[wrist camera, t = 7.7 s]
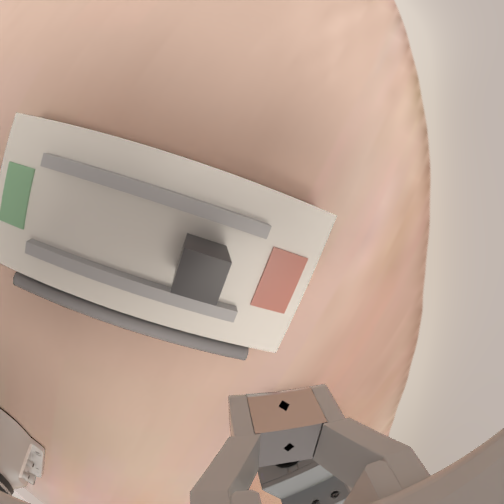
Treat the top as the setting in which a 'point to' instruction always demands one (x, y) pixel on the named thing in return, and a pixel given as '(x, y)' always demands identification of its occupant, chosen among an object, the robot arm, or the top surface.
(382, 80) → the top surface
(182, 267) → the breaker toggle
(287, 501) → the circuit breaker
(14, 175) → the white slider track board
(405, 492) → the robot arm
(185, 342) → the long gray rail
